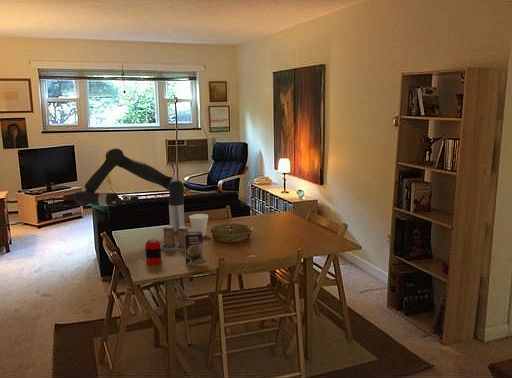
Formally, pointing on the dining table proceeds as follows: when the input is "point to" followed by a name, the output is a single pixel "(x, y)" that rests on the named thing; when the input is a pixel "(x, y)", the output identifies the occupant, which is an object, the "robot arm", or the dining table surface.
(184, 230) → the seated billet
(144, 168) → the robot arm
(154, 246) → the soda can
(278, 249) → the dining table surface
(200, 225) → the cup
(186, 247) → the coffee box
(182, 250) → the grey slotted tray
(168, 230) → the block
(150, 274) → the dining table surface
